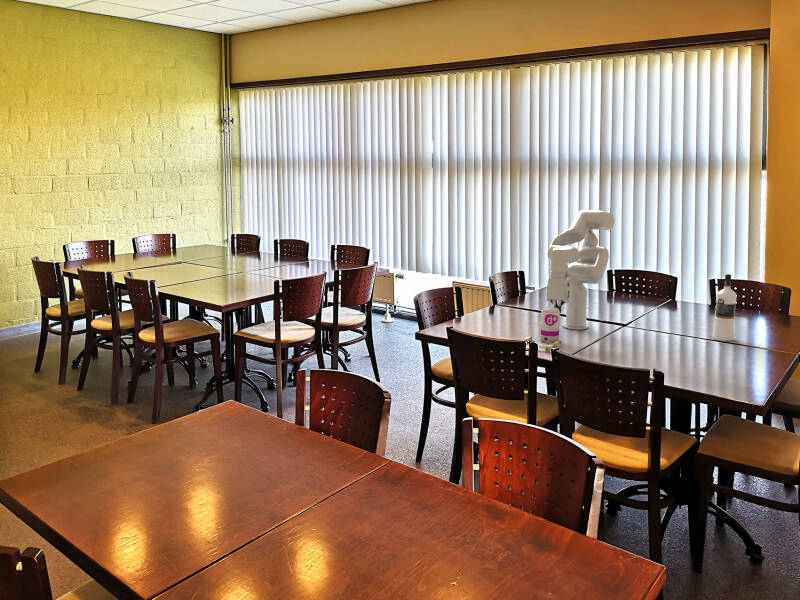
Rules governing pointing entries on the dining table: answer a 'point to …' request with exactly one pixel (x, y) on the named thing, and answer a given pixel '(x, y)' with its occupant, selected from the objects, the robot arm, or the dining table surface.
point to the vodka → (725, 312)
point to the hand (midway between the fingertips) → (557, 314)
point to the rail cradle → (544, 345)
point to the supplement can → (550, 324)
